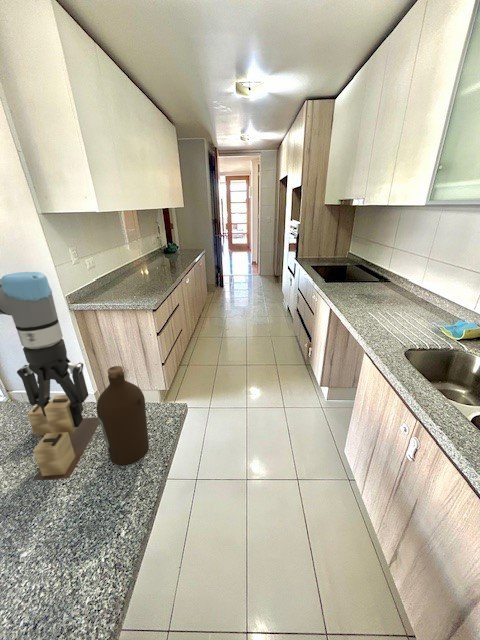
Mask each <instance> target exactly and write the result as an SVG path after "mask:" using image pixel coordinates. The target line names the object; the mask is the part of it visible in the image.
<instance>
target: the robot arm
mask: <svg viewBox="0 0 480 640" xmlns="http://www.w3.org/2000/svg"><path fill="white" fill-rule="evenodd" d="M0 315H6V316H11V317H12V321H13V323H14V327H15V329H16V331H17V335H18V337H19V341H20V343H21V344H20V345H21V346H22V347H23V348H22V351H23V354H24V357H25V360H26V362H27V364H24V365H23V366H22V367H20V368H19V369H17V370H16V374H17V375H18V376H19V378H20V379H21V381H22V384H23V387H24V390H25V393H26V396H27V400H28V402H29V405H30V406H36V405H39V406H40V407H41V409H42V412H43V415H44V416H46V413H45V410H44V408H45V407H46V405H47V404H48V403H49V402H50V401H51V400H52V397H51V380H54V381H55V382H56V384H57V385H59V387H60V388H61V389H62V390H63V392H64V395H67V397H68V398H69V400H70V402H71V405H70V406H69V408H70V411H71V415H72V419H73V422H74V426H75V427H78V426H79V425H80V423H81V422H82V420H83V418H84V417H83V415H82V413H83V412H84V406H83V403H85V401H86V400H87V399H88V397H89V395H90V394H89V391H88V387H87V383H86V380H85V376H84V372H83V370H84V363H83V362H78V363H74V362H71V360H70V359H69V358H68V354H67V353H68V352H67V347H66V343H65V340H64V338H63V331H62V328H61V325H60V321H59V318H58V317H59V316H58V313H57V309H56V304H55V300H54V297H53V290H52V288H51V287H50V283H49V281H48V277H47V276H46V275H45V274H44V273H42V272H40V271H21V272H20V271H19V272H12V273H8V274H5V275H3V276H1V278H0ZM68 370H70V372H69V371H68ZM71 375H72V376H71ZM36 376H37V378H36Z"/></svg>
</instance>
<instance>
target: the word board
mask: <svg viewBox="0 0 480 640" xmlns="http://www.w3.org/2000/svg"><path fill="white" fill-rule="evenodd" d="M82 418H83V420H82V422H81V423H80V425H79V426H78V427H77V428H76V430H75V431H74V433H69V437H70V440H71V444H72V447H73V451H74V454H75V458H74V459H73V461H72V463H71V465H70V466H69V468H68V470H67V471H66V473H65V474H63V475H49V476H42V474H41V471H40V470H39V471H38V472H37V474H36V475H35V477H34V478H33V480H32V481H35V482H37V481H48V480H49V481H50V480H62V479H70V478H71V476H72V475H73V472H74V471H75V469H76V468H77V465H78V463H79V462H80V460H81V458H82V457H83V455H84V453H85V451H86V450H87V448H88V446H89V444H90V442H91V440H92V438H93V436H94V435H95V434H96V431H97V430H98V428H99V426H100V422H99V418H98V416H97V417H82Z"/></svg>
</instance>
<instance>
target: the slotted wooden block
mask: <svg viewBox="0 0 480 640" xmlns="http://www.w3.org/2000/svg"><path fill="white" fill-rule="evenodd" d="M26 416H27V418H28V421H29V424H30V426H31V429H32V433H33V435H34V436H35V437H36V436H39V437H40V436H45V434H46V433H52V432H51V429H50V426H49V423H48V420H47V416H44V415H43V412H42V409H41V407H40V406H39V405H36V404H35V405H34V406H33V407H32V409H30V410H29V411H28V413H26Z"/></svg>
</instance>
